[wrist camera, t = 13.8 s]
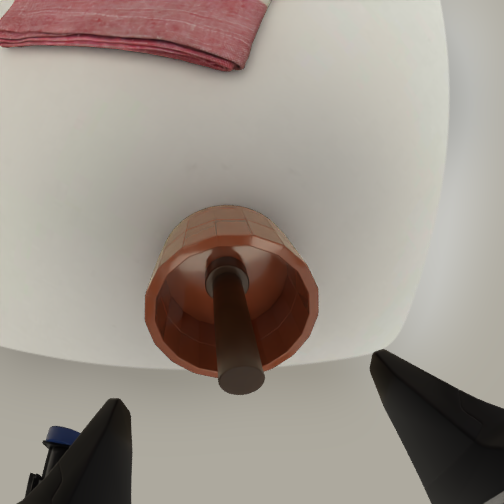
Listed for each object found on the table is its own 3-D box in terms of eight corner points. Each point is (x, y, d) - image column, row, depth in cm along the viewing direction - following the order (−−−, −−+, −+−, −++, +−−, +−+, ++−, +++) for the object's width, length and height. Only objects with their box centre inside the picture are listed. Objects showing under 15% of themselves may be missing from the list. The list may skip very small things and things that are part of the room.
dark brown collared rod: (209, 296, 17) (215, 405, 9) (201, 260, 16) (198, 364, 8) (249, 289, 17) (278, 394, 10) (243, 252, 16) (273, 351, 9)
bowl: (179, 332, 18) (174, 387, 14) (145, 218, 15) (120, 253, 10) (294, 311, 19) (318, 361, 14) (284, 193, 16) (315, 217, 11)
